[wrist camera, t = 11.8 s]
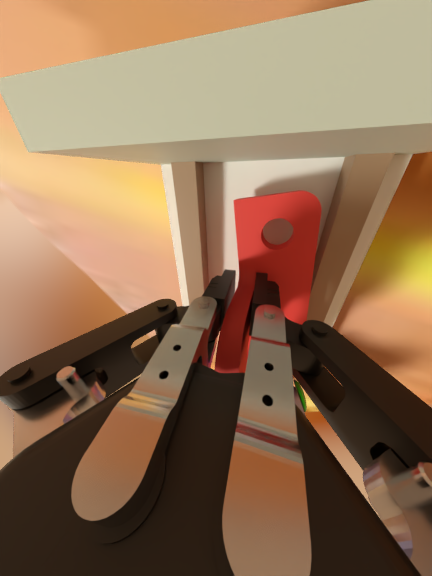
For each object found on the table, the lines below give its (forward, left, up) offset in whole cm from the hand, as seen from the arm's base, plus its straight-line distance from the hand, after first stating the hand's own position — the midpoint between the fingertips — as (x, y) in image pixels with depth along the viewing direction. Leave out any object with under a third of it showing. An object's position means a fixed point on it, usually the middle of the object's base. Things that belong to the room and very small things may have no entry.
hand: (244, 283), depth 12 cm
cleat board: (-1, 0, -4) cm, 4 cm away
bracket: (-2, +1, -2) cm, 3 cm away
